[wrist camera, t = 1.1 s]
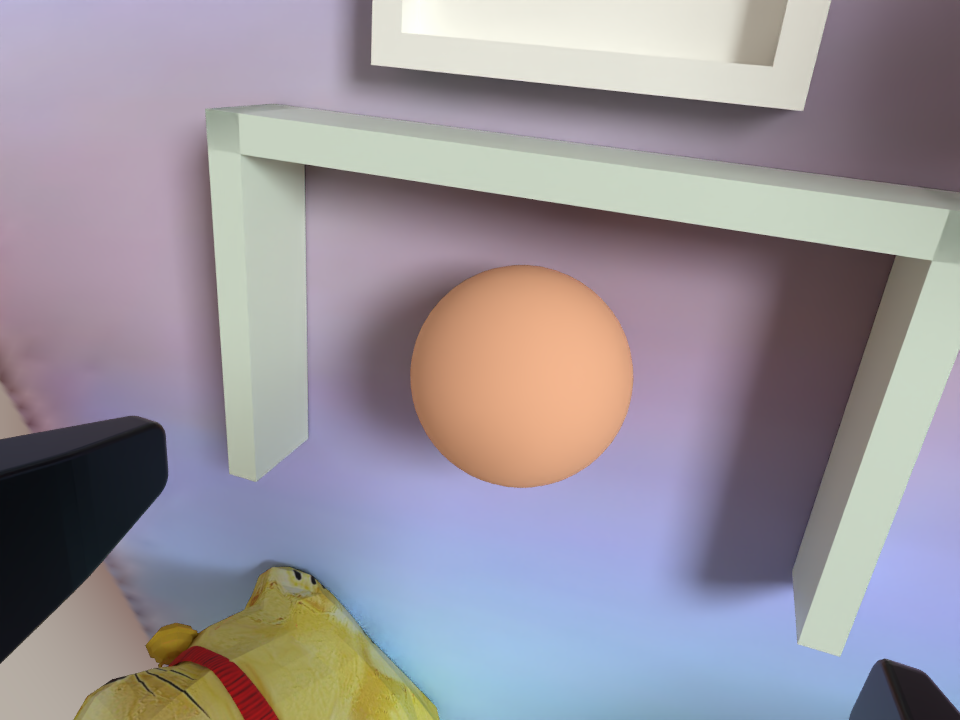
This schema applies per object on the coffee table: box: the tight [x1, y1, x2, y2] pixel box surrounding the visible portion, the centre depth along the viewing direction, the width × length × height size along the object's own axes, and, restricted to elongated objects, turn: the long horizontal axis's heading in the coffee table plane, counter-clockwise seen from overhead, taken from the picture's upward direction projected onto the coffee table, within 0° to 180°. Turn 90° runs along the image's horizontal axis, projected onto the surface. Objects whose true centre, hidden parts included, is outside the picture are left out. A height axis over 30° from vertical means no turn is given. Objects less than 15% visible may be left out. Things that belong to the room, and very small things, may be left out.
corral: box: [205, 104, 960, 657], centre depth 19 cm, size 11×18×3 cm, turn 84°
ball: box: [410, 265, 633, 488], centre depth 18 cm, size 6×6×6 cm
